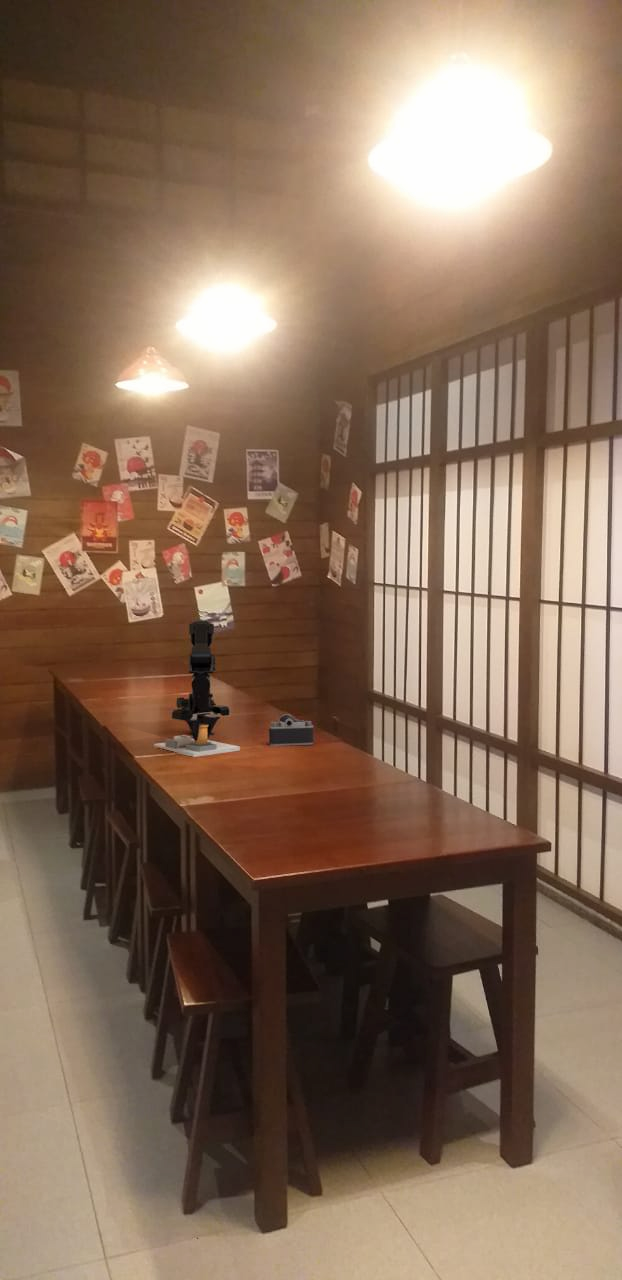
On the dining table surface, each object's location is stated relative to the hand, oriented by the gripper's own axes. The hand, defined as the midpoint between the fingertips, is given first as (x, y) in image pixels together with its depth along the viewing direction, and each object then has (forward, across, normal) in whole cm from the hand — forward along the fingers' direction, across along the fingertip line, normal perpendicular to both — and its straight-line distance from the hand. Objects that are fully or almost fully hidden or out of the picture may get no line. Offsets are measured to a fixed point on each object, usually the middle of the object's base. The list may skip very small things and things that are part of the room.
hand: (201, 739), depth 309 cm
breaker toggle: (+3, +1, -8) cm, 9 cm away
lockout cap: (+1, 0, 0) cm, 1 cm away
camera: (+4, -34, +4) cm, 34 cm away
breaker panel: (+4, -3, -6) cm, 8 cm away
